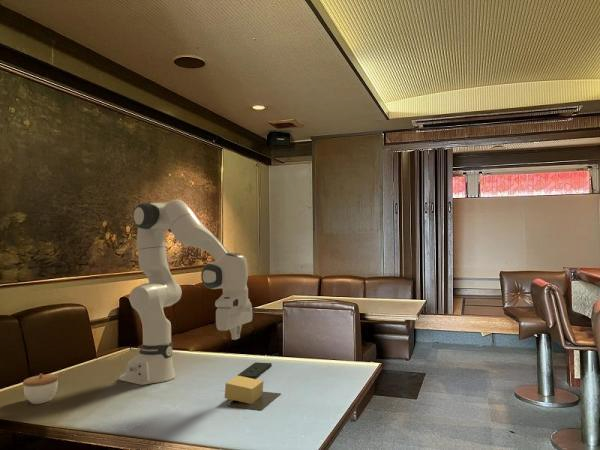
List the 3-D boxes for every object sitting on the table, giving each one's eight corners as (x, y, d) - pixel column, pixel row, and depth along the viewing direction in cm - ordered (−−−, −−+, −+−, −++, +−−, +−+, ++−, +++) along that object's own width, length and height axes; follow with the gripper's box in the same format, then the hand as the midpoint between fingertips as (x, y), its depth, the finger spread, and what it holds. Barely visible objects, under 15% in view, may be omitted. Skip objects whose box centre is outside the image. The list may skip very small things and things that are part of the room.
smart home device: (236, 374, 176) (254, 361, 195) (236, 379, 176) (255, 365, 195) (255, 376, 174) (272, 362, 193) (255, 380, 174) (272, 366, 193)
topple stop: (225, 406, 145) (225, 403, 145) (247, 390, 160) (247, 388, 160) (261, 410, 140) (261, 407, 140) (280, 394, 155) (280, 391, 155)
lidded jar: (21, 408, 147) (21, 380, 148) (24, 399, 157) (24, 372, 157) (57, 402, 152) (57, 375, 153) (58, 393, 162) (58, 368, 162)
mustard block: (225, 383, 149) (252, 388, 146) (238, 375, 157) (263, 380, 154) (224, 397, 149) (251, 404, 146) (237, 389, 157) (262, 395, 154)
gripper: (241, 295, 165) (241, 332, 164) (212, 302, 146) (212, 344, 145) (256, 296, 163) (256, 333, 162) (229, 303, 144) (229, 345, 143)
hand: (235, 338), depth 153 cm, fingers closed
